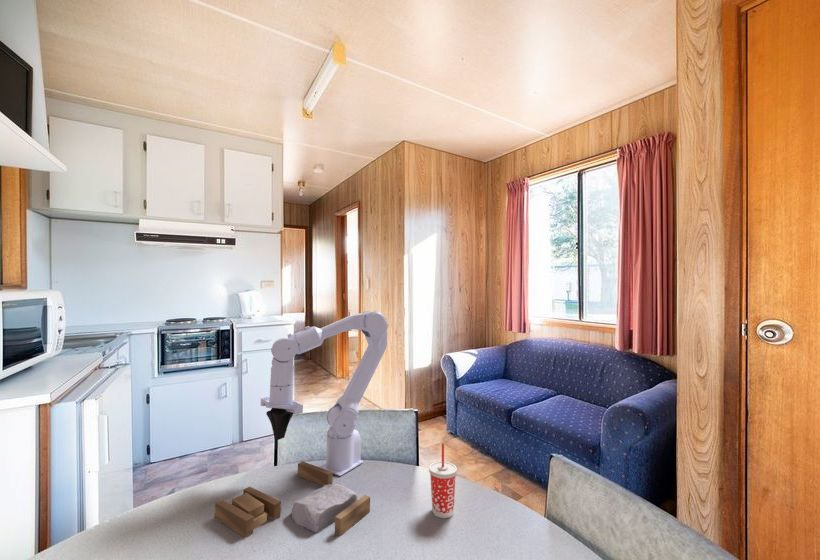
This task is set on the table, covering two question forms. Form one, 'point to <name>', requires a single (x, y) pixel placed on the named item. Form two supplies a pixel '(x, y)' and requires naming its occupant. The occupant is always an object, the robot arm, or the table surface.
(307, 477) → the wooden bar set
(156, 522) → the table surface
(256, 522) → the offcut low
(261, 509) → the offcut top
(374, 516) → the table surface
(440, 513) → the beverage cup
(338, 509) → the stone block
